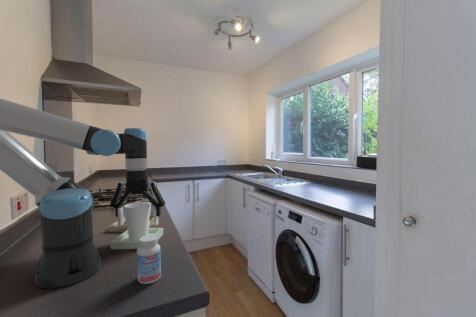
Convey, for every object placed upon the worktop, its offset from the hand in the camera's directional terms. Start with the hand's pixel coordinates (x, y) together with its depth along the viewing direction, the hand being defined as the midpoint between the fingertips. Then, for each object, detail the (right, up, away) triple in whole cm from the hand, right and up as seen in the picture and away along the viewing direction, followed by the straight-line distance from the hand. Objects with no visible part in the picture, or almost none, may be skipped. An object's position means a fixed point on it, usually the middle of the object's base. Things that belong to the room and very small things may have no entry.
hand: (138, 224), depth 87 cm
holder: (-9, -6, +17) cm, 20 cm away
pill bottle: (+14, -8, -25) cm, 29 cm away
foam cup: (0, -5, 0) cm, 5 cm away
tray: (0, -6, 0) cm, 6 cm away
